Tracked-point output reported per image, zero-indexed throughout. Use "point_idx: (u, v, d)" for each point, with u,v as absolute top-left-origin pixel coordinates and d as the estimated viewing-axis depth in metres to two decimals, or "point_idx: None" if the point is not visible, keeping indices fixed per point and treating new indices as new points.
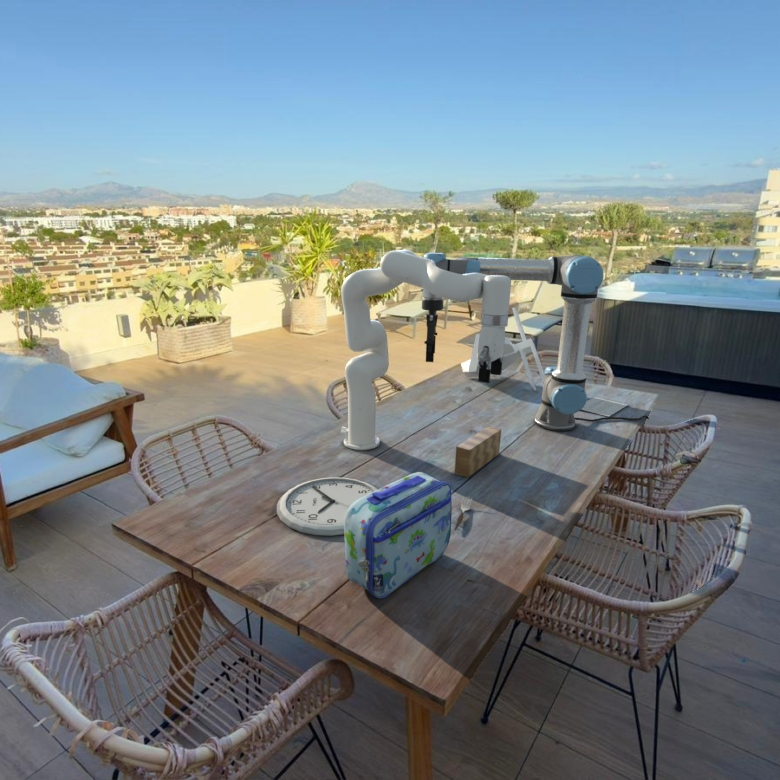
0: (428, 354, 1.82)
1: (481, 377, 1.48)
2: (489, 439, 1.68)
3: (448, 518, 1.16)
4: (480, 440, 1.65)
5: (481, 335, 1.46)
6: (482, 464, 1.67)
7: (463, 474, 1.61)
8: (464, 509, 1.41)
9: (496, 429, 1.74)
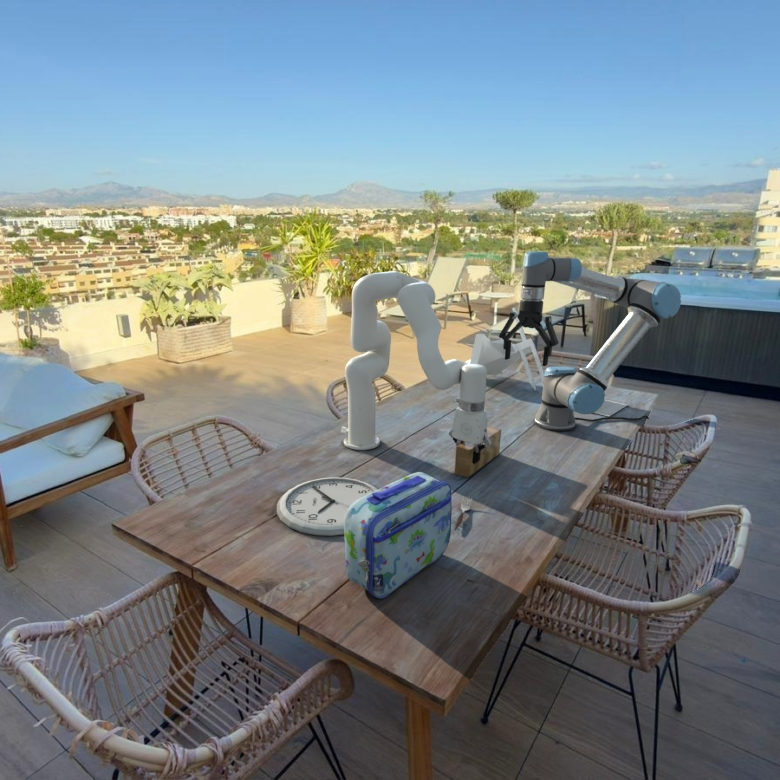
0: (546, 358, 1.74)
1: (478, 459, 1.61)
2: None
3: (448, 518, 1.16)
4: None
5: (482, 421, 1.55)
6: (482, 464, 1.67)
7: (463, 474, 1.61)
8: (464, 509, 1.41)
9: (496, 429, 1.74)
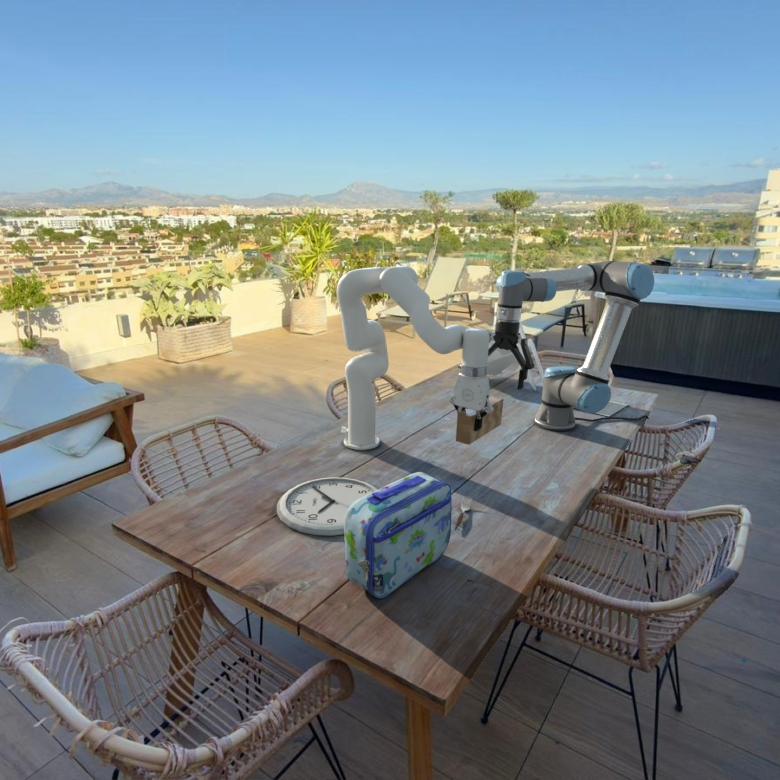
0: (521, 382, 1.67)
1: (480, 426, 1.57)
2: None
3: (448, 518, 1.16)
4: None
5: (484, 387, 1.52)
6: (484, 433, 1.64)
7: (464, 442, 1.58)
8: (464, 509, 1.41)
9: (498, 398, 1.71)
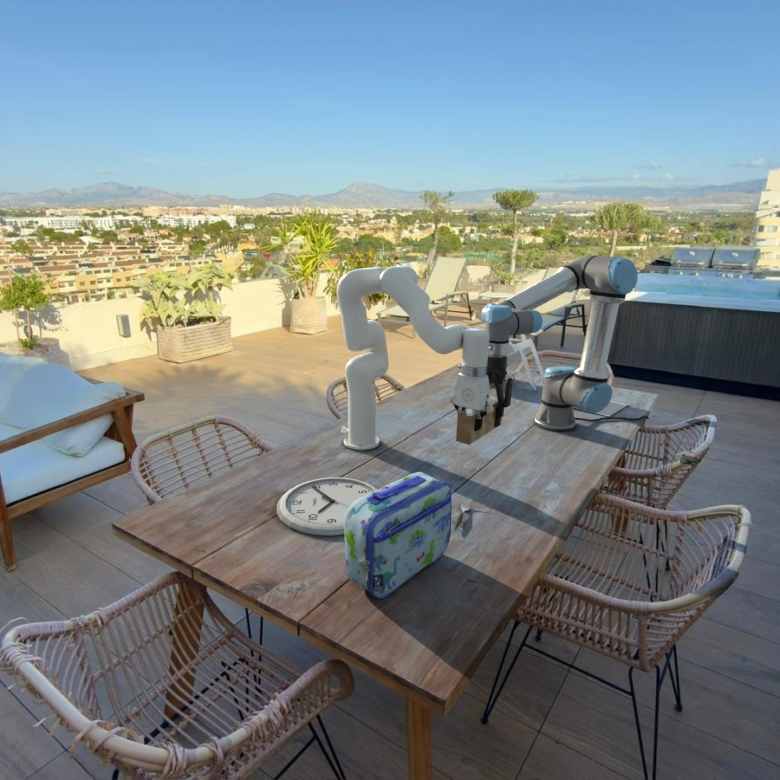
0: (498, 419, 1.69)
1: (480, 426, 1.57)
2: None
3: (448, 518, 1.16)
4: None
5: (484, 387, 1.52)
6: (484, 433, 1.64)
7: (465, 442, 1.58)
8: (464, 509, 1.41)
9: None
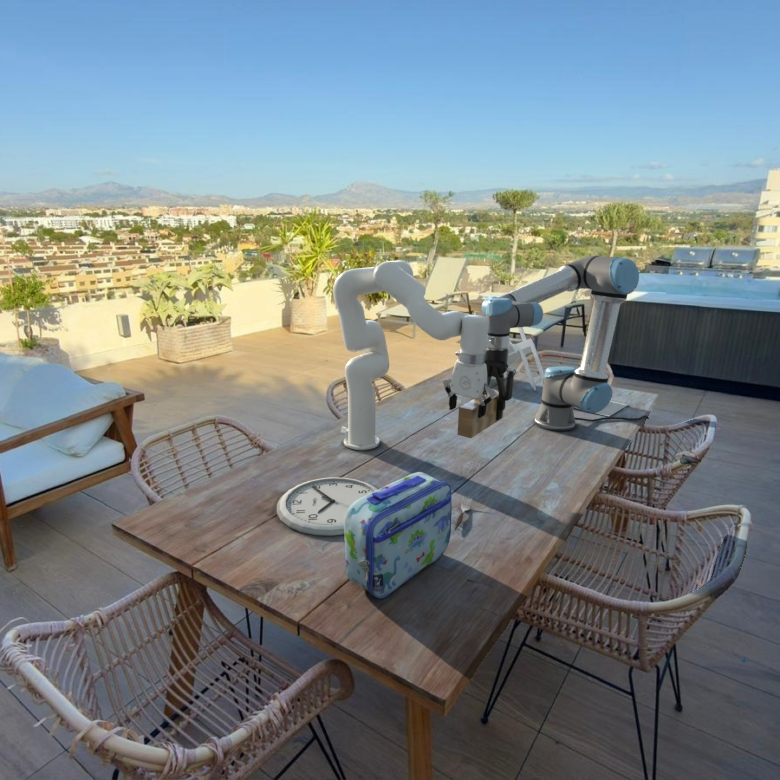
0: (499, 412, 1.68)
1: (483, 413, 1.54)
2: (492, 401, 1.64)
3: (448, 518, 1.16)
4: None
5: (482, 375, 1.50)
6: (486, 426, 1.64)
7: (466, 435, 1.57)
8: (464, 509, 1.41)
9: None
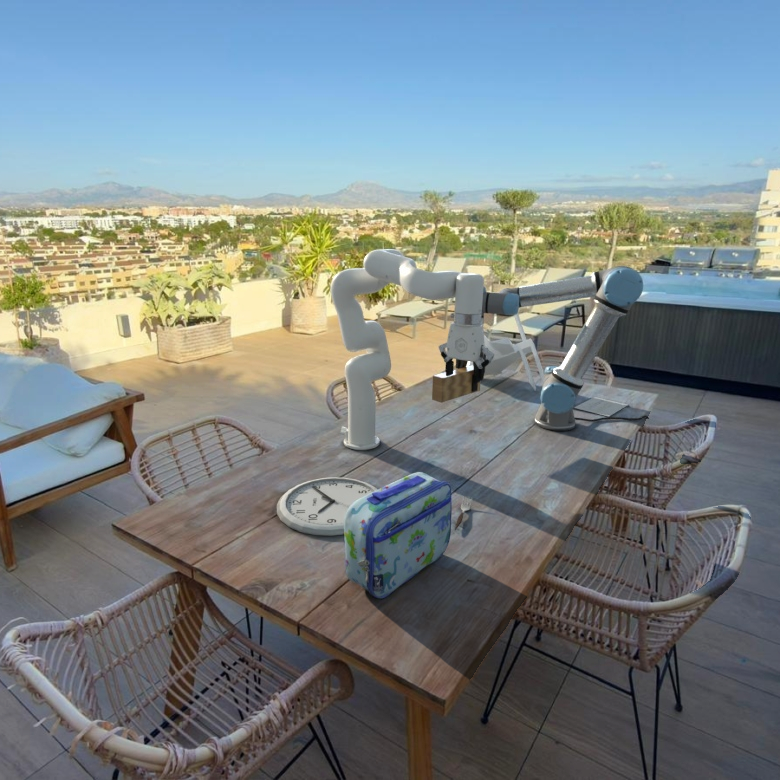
0: (474, 385, 1.95)
1: (481, 376, 1.46)
2: (466, 373, 1.92)
3: (448, 518, 1.16)
4: (457, 373, 1.89)
5: (478, 335, 1.43)
6: (459, 395, 1.91)
7: (438, 400, 1.86)
8: (464, 509, 1.41)
9: None
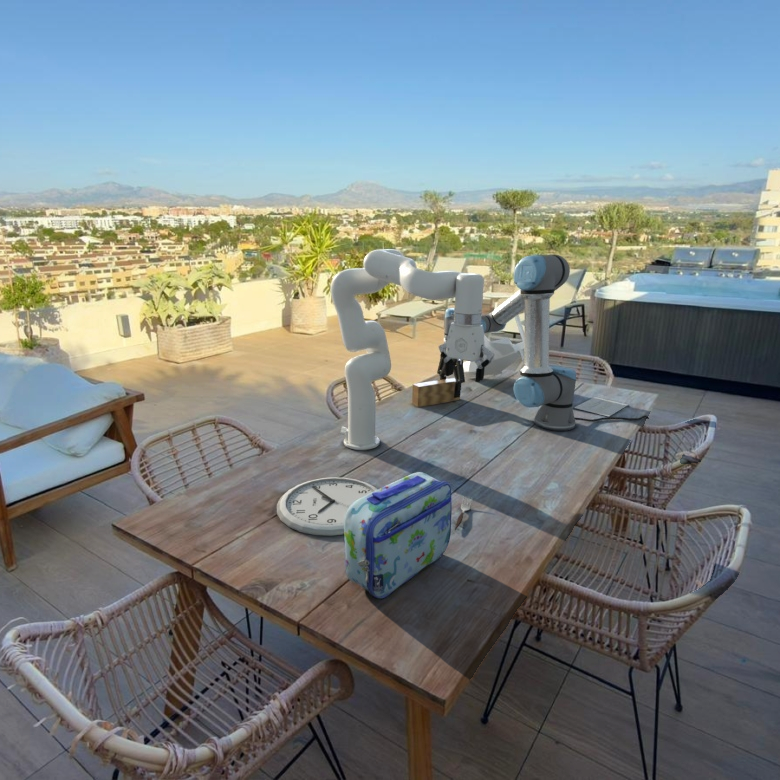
0: (456, 392, 2.26)
1: (481, 376, 1.46)
2: (444, 384, 2.26)
3: (448, 518, 1.16)
4: (435, 383, 2.24)
5: (478, 335, 1.43)
6: (436, 402, 2.26)
7: (416, 405, 2.23)
8: (464, 509, 1.41)
9: None
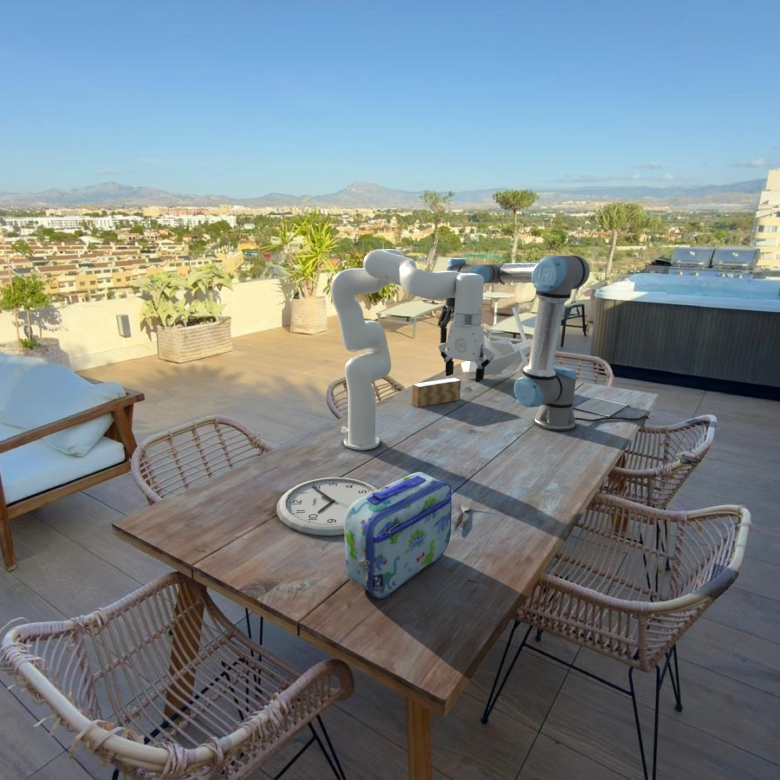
0: None
1: (481, 376, 1.46)
2: (444, 384, 2.26)
3: (448, 518, 1.16)
4: (435, 383, 2.24)
5: (478, 335, 1.43)
6: (436, 402, 2.26)
7: (416, 405, 2.23)
8: (464, 509, 1.41)
9: (457, 379, 2.30)
